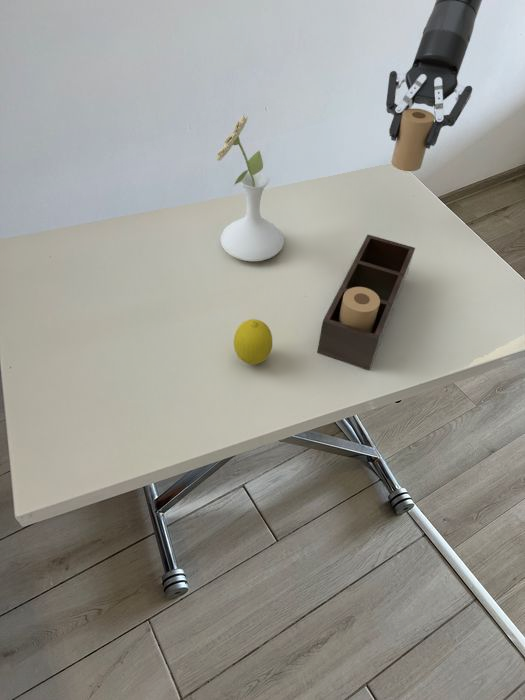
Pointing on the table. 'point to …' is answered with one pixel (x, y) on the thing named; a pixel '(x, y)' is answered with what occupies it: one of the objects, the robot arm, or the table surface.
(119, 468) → the table surface
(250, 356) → the lemon
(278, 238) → the flower in vase
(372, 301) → the roll
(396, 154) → the towel roll
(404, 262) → the rack
